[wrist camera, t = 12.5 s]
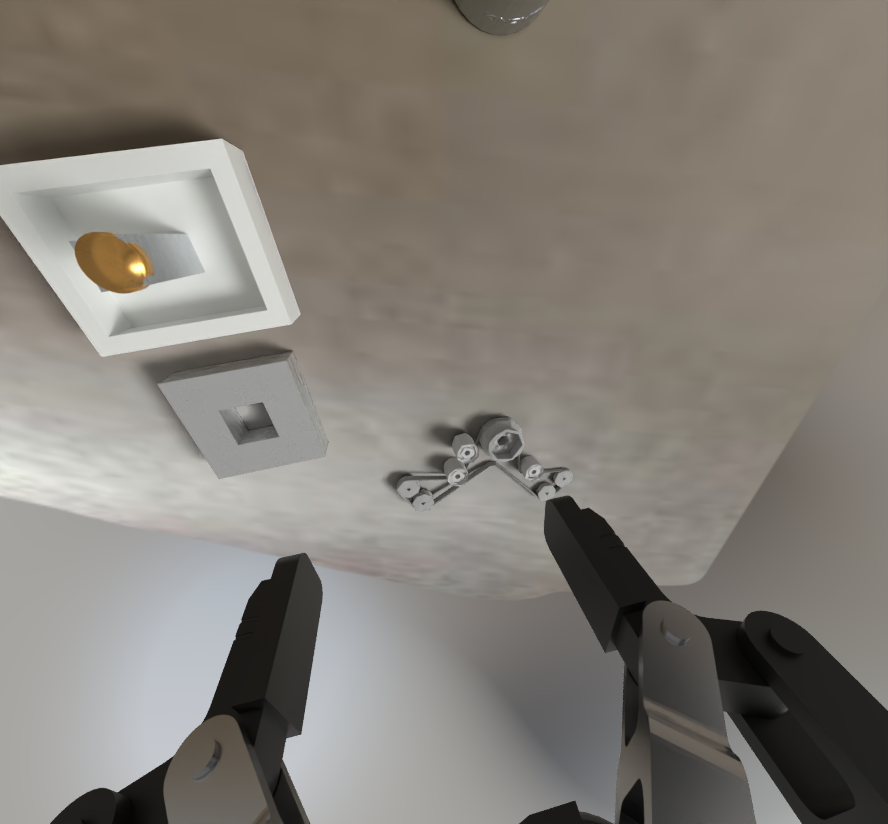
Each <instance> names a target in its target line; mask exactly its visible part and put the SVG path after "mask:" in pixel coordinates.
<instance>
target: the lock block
mask: <svg viewBox="0 0 888 824" xmlns="http://www.w3.org/2000/svg"><path fill="white" fill-rule="evenodd" d="M157 385H158V387H159V388H160V390H161V391H162V393H163V394H164V396H165V397H166V399H167V400H168V402H169V403H170V405H171V406H172V408H173V410H174V411H175V413H176V414H177V416H178V417H179V419H180V420H181V422H182V423H183V425H184V426H185V428H186V429H187V431H188V432H189V434H190V436H191V437H192V439H193V440H194V442H195V443H196V445H197V446H198V448H199V449H200V451H201V452H202V454H203V455H204V457H205V459H206V460H207V462H208V463H209V465H210V466H211V468H212V469H213V471H214V472H215V474H216V475H217V477H218V478H219V479H221V478H226V477H230V476H235V475H240V474H245V473H249V472H254V471H259V470H264V469H269V468H273V467H278V466H283V465H288V464H292V463H297V462H302V461H307V460H311V459H316V458H321V457H325V456H326V451H327V447H328V443H329V442H328V439H327V436H326V434H325V431H324V429H323V426H322V424H321V421H320V418H319V416H318V413H317V411H316V408H315V406H314V403H313V400H312V398H311V395H310V393H309V390H308V387H307V385H306V382H305V380H304V377H303V375H302V372H301V369H300V367H299V364H298V362H297V359H296V357H295V354H294V351H291V352H285V353H280V354H274V355H269V356H263V357H257V358H252V359H246V360H241V361H235V362H230V363H224V364H219V365H213V366H207V367H202V368H196V369H191V370H185V371H180V372H174V373H173V374H171V375H170V376H169V377H167V378H166V379H164V380H163V381H161V382H160V383H158V384H157ZM261 402H263V404H264V406H265V408H266V410H267V412H268V414H269V416H270V418H271V420H272V423H273V426H268V427H263V428H258V429H253V430H247V428H246V426H245V424H244V422H243V421H242V419H241V417H240V415H239V413H238V411H237V409H236V408H235V407H240V406H245V405H250V404H256V403H261Z"/></svg>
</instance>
